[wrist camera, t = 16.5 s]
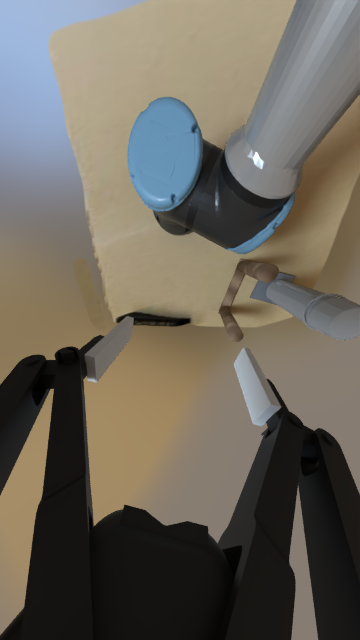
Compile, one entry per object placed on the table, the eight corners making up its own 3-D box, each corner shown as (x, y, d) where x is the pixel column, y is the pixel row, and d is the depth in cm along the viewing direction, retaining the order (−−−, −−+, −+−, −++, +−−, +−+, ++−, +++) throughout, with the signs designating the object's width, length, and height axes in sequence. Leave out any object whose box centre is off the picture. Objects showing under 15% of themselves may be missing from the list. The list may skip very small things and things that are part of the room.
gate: (239, 258, 44) (264, 262, 27) (250, 261, 44) (282, 267, 27) (217, 312, 53) (226, 340, 36) (226, 314, 53) (239, 343, 36)
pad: (264, 268, 44) (265, 268, 43) (293, 276, 44) (295, 276, 43) (249, 297, 49) (250, 297, 48) (276, 304, 49) (277, 305, 48)
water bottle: (293, 291, 45) (384, 328, 23) (269, 305, 48) (330, 349, 26) (280, 269, 43) (369, 286, 21) (256, 284, 46) (312, 314, 24)
